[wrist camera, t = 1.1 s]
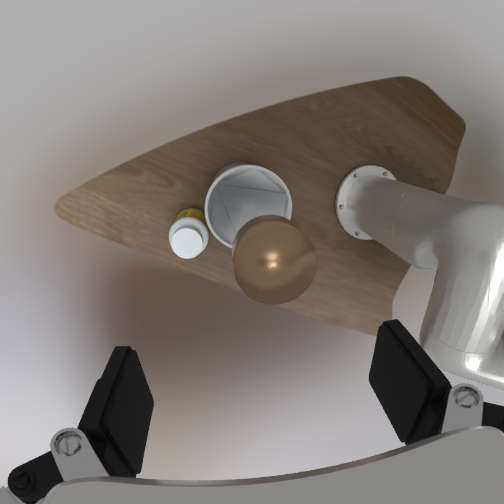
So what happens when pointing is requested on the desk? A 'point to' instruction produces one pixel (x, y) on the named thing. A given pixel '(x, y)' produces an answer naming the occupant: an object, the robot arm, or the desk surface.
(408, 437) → the robot arm
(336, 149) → the desk surface
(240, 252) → the plunger
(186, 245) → the supplement bottle
